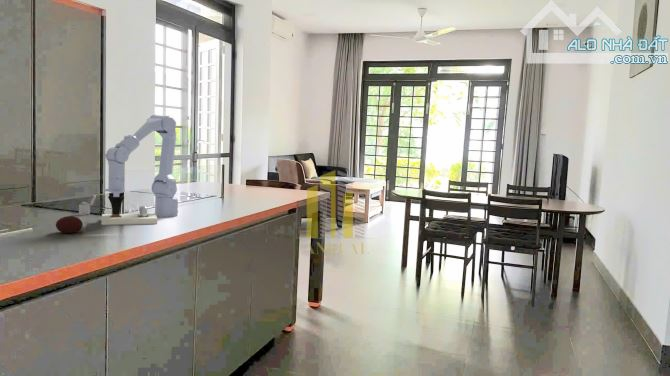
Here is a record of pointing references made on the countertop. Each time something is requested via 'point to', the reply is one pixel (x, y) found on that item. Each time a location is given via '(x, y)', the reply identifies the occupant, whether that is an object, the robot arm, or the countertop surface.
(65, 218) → the potato
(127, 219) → the hole block
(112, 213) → the walnut pin
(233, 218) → the countertop surface
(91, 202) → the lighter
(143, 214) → the steel pin
